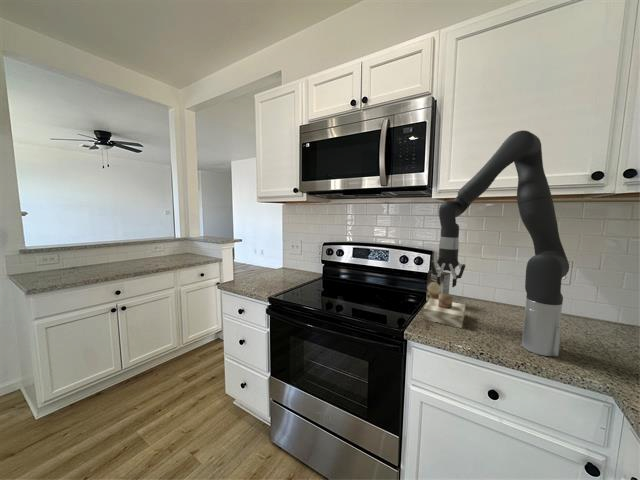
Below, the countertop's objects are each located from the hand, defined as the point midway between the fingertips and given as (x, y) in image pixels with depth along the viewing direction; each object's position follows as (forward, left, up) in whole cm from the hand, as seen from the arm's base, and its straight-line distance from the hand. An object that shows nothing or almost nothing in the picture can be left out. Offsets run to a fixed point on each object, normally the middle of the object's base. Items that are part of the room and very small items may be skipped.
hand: (446, 285), depth 115 cm
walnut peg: (0, 0, -14) cm, 14 cm away
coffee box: (+6, -20, -15) cm, 25 cm away
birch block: (0, 0, -14) cm, 14 cm away
